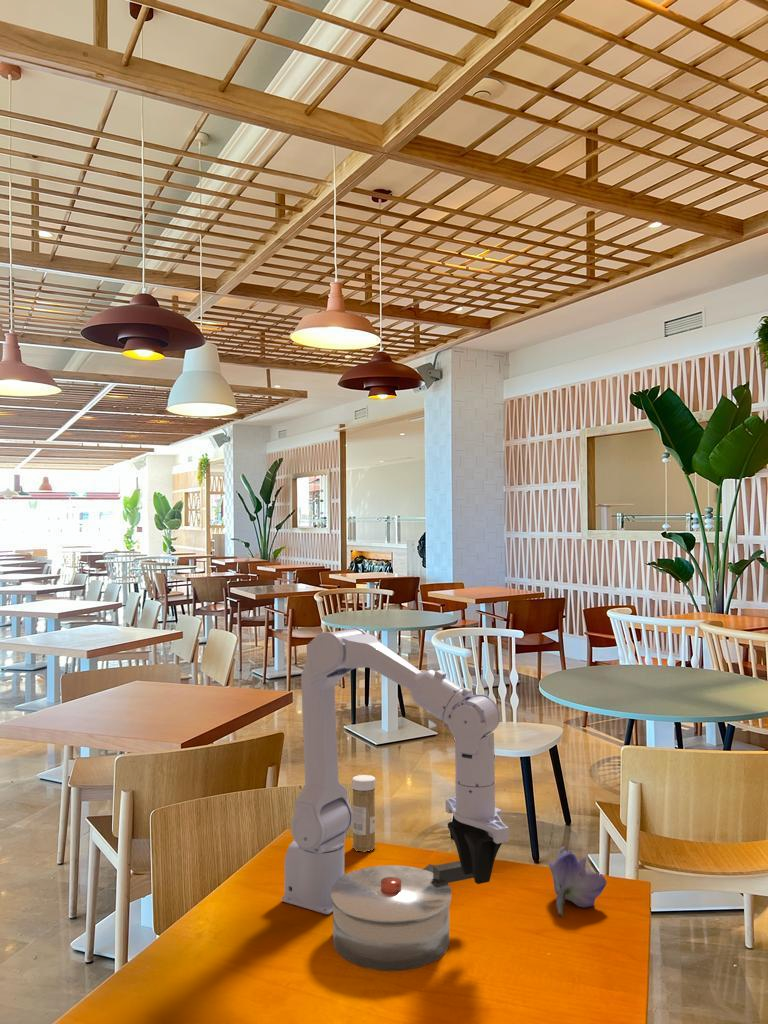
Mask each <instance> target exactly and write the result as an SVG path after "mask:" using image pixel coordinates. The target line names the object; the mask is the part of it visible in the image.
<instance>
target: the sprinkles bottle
mask: <svg viewBox="0 0 768 1024" xmlns="http://www.w3.org/2000/svg"><path fill="white" fill-rule="evenodd" d="M376 782H377V781H376V777H375V776H373V775H370V774H359V775H356V776H353V777H352V778H351V788H352V812H353V822H352V832H353V833H352V849H353V848H354V849H356V850H357V851H366V850H367V851H368V850H372V849H374V850H375V849H376V846H377V845H376V806H375V805H376V804H375V802H376V801H375V799H376V798H375V797H376V796H375V793H376V792H375V790H376V787H377V785H376ZM375 845H376V846H375ZM354 849H353V850H354ZM357 851H356V852H357Z"/></svg>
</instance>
